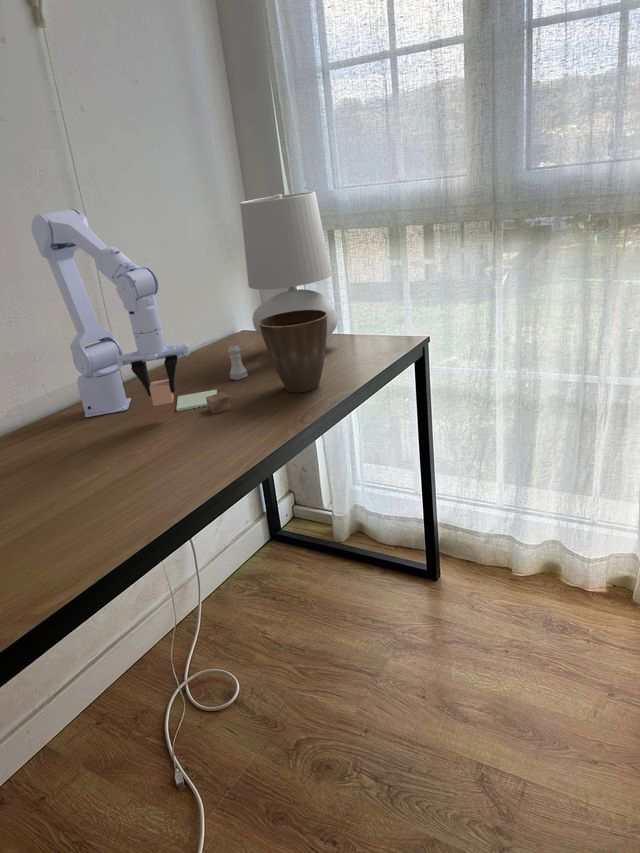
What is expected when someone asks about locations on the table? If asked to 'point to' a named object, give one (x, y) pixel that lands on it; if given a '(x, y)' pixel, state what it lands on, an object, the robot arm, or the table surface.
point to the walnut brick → (218, 402)
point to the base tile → (193, 400)
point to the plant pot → (297, 346)
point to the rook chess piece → (236, 363)
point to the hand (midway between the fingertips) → (162, 393)
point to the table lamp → (286, 254)
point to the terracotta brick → (161, 392)
